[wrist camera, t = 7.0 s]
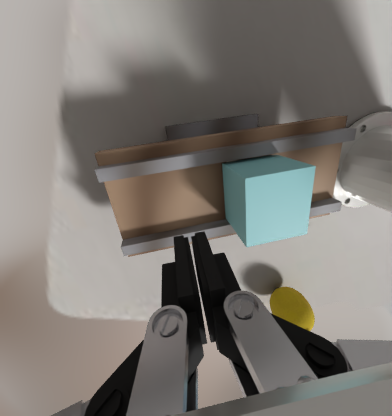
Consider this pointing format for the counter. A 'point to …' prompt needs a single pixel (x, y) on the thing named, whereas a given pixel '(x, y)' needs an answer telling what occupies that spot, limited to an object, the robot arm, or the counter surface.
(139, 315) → the counter surface
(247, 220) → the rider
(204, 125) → the wooden tray
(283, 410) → the robot arm
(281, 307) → the lemon
